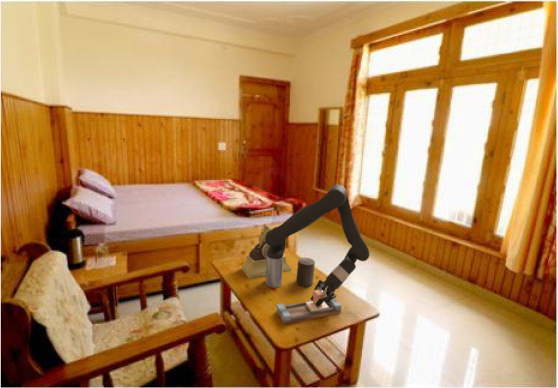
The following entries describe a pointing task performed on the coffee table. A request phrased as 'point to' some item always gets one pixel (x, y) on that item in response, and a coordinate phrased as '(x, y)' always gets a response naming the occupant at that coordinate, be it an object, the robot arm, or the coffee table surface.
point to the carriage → (316, 297)
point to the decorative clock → (260, 257)
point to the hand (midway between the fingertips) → (314, 302)
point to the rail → (305, 311)
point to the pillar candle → (305, 272)
